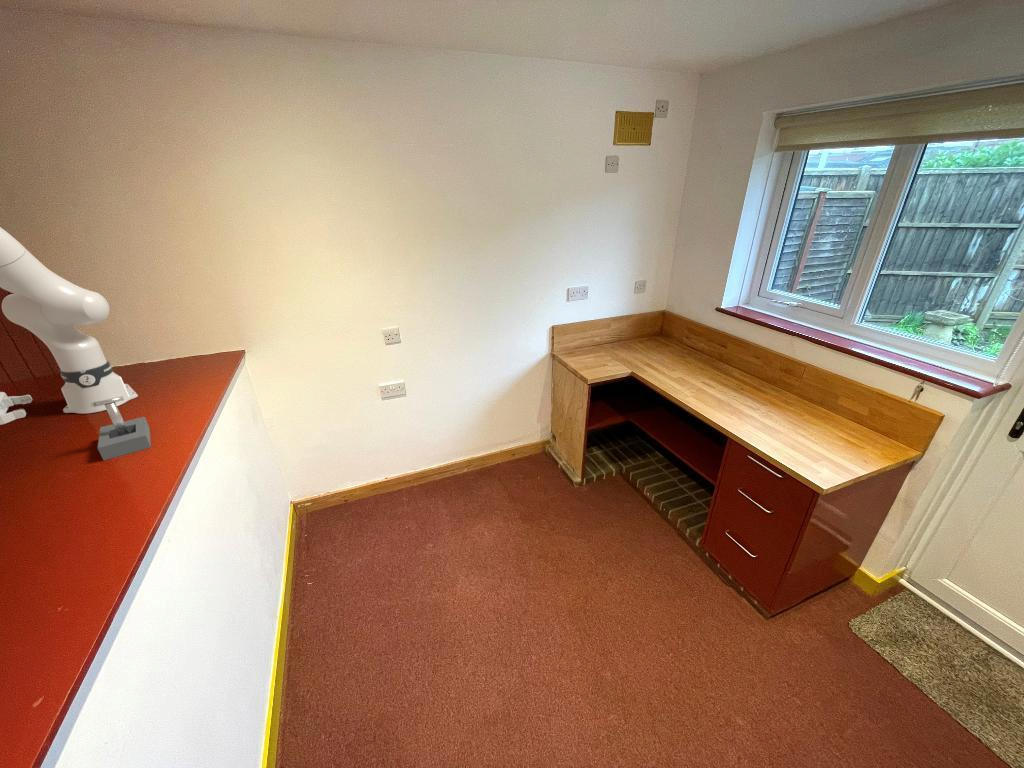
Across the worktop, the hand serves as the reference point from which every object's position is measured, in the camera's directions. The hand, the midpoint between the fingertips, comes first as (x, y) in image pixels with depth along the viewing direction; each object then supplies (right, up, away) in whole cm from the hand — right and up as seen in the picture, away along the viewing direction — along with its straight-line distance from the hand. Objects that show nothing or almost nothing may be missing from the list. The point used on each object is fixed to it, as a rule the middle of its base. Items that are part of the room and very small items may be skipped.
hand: (28, 405), depth 105 cm
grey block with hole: (+12, -12, +15) cm, 22 cm away
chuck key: (+12, -12, +15) cm, 22 cm away
